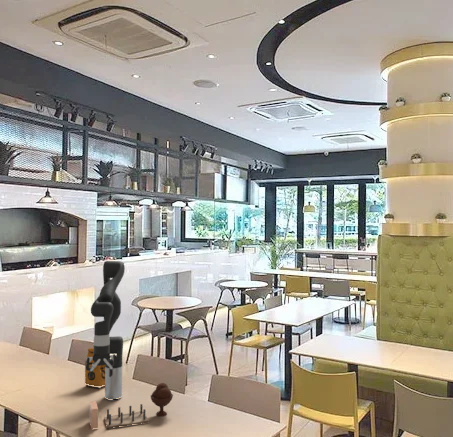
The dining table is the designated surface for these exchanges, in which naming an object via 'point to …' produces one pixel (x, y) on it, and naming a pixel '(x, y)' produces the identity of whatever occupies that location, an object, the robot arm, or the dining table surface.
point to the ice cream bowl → (161, 398)
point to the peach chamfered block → (93, 415)
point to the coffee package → (95, 372)
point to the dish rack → (125, 418)
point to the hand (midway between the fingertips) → (101, 377)
